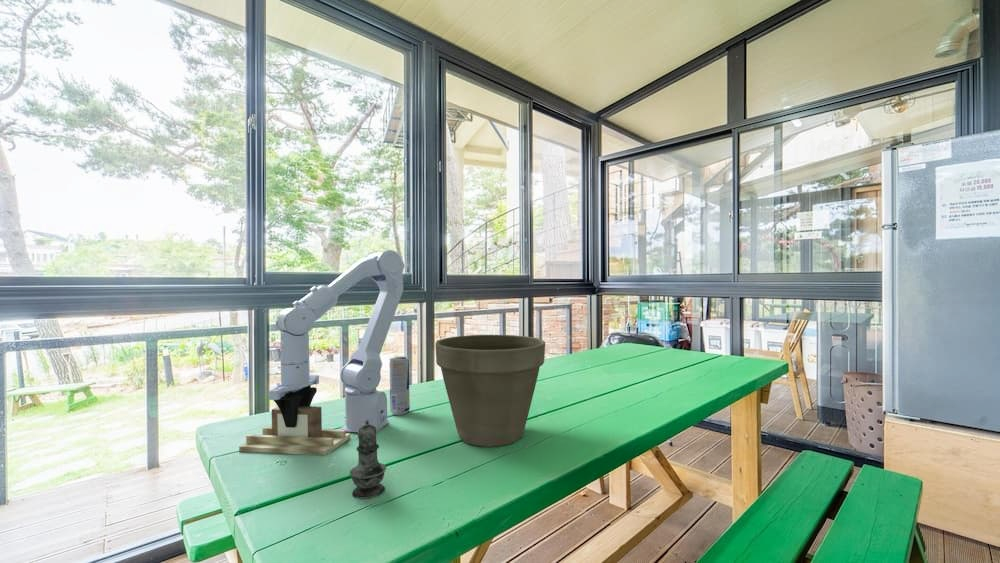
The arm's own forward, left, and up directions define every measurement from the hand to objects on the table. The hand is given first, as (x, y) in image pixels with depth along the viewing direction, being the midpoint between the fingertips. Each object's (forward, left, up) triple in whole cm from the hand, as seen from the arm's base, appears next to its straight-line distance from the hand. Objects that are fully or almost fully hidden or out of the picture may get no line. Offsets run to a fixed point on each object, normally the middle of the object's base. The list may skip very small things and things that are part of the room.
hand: (296, 424), depth 93 cm
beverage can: (-14, -24, -5) cm, 28 cm away
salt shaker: (-26, +18, -5) cm, 32 cm away
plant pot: (-42, -10, -5) cm, 43 cm away
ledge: (0, 0, -4) cm, 4 cm away
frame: (0, 0, -3) cm, 4 cm away
